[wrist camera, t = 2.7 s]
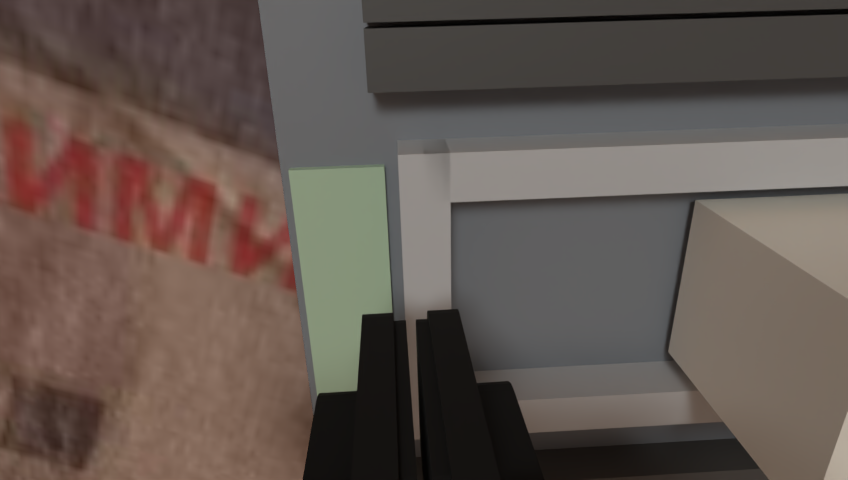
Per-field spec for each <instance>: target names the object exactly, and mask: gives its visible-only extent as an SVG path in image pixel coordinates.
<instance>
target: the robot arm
mask: <svg viewBox="0 0 848 480" xmlns="http://www.w3.org/2000/svg"><path fill="white" fill-rule="evenodd" d="M416 346H417V373H418V400H419V427H420V449H421V463H422V475H423V480H544V477H543V474H542V471H541V468H540V465H539V462H538V459H537V456H536V453H535V450H534V447H533V445H532V442H531V439H530V436H529V433H528V430H527V427H526V424H525V421H524V418H523V415H522V412H521V409H520V406H519V403H518V400H517V397H516V394H515V392H514V389H513V386H512V384H511V383H510V382H509V381H501V382H485V383H477V382H476V378H475V374H474V370H473V366H472V362H471V358H470V354H469V350H468V345H467V341H466V337H465V333H464V329H463V325H462V321H461V317H460V313H459V310H458V309H447V310H430V311H427V319H416ZM303 480H417V468H416V454H415V440H414V426H413V412H412V398H411V384H410V371H409V357H408V343H407V329H406V320H399V321H394V316H393V313H378V314H363V315H362V324H361V339H360V353H359V368H358V383H357V391H346V392H330V393H319V394H318V396H317V400H316V405H315V411H314V417H313V423H312V428H311V434H310V440H309V446H308V452H307V458H306V464H305V470H304V476H303Z"/></svg>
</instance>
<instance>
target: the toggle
mask: <svg viewBox="0 0 848 480" xmlns="http://www.w3.org/2000/svg"><path fill="white" fill-rule="evenodd" d="M668 352H669V354H670V355H671V356H672V357H673V359H674V360H675V361H676V362H677V364H678V365H679V366H680V368H681V369H682V370H683V371H684V373H685V374H686V375H687V376H688V378H689V379H690V380H691V381H692V383H693V384H694V385H695V386H696V388H697V389H698V390H699V392H700V393H701V394H702V395H703V397H704V398H705V399H706V400H707V402H708V403H709V404H710V405H711V407H712V408H713V409H714V411H715V412H716V413H717V414H718V416H719V417H720V418H721V419H722V421H723V422H724V423H725V424H726V426H727V427H728V428H729V430H730V431H731V432H732V433H733V435H734V436H735V437H736V438H737V440H738V441H739V442H740V443H741V445H742V446H743V447H744V449H745V450H746V451H747V452H748V454H749V455H750V456H751V457H752V459H753V460H754V461H755V462H756V464H757V465H758V466H759V468H760V469H761V470H762V471H763V473H764V474H765V475H766V476H767V478H768V479H769V480H848V194H825V195H801V196H778V197H754V198H730V199H707V200H695V205H694V211H693V217H692V222H691V228H690V233H689V239H688V244H687V250H686V255H685V261H684V267H683V272H682V278H681V283H680V289H679V294H678V300H677V305H676V311H675V317H674V322H673V328H672V333H671V339H670V344H669V350H668Z"/></svg>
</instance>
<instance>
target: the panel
mask: <svg viewBox="0 0 848 480" xmlns="http://www.w3.org/2000/svg"><path fill="white" fill-rule="evenodd" d="M258 4H259V11H260V19H261V26H262V34H263V41H264V49H265V56H266V64H267V71H268V79H269V86H270V94H271V101H272V109H273V116H274V124H275V131H276V139H277V146H278V154H279V161H280V169H281V176H282V184H283V191H284V199H285V206H286V214H287V221H288V229H289V236H290V244H291V251H292V259H293V266H294V274H295V281H296V289H297V296H298V304H299V311H300V319H301V326H302V334H303V341H304V349H305V356H306V364H307V371H308V379H309V386H310V394H311V401H312V409H313V416H314V411H315V405H316V400H317V396H318V394H319V393H330V392H346V391H357V383H358V368H359V353H360V339H361V324H362V315H363V314H378V313H393V316H394V321H399V320H406V329H407V343H408V357H409V371H410V384H411V398H412V412H413V426H414V440H415V454H416V468H417V480H423V475H422V463H421V449H420V427H419V400H418V373H417V346H416V319H427V311H430V310H447V309H458V310H459V313H460V317H461V321H462V325H463V329H464V333H465V337H466V341H467V345H468V350H469V354H470V358H471V362H472V366H473V370H474V374H475V378H476V382H477V383H485V382H501V381H509V382H510V383H511V384H512V386H513V389H514V392H515V394H516V397H517V400H518V403H519V406H520V409H521V412H522V415H523V418H524V421H525V424H526V427H527V430H528V433H529V436H530V439H531V442H532V445H533V447H534V450H535V453H536V456H537V459H538V462H539V465H540V468H541V471H542V474H543V477H544V480H769V479H768V478H767V476H766V475H765V474H764V473H763V471H762V470H761V469H760V468H759V466H758V465H757V464H756V462H755V461H754V460H753V459H752V457H751V456H750V455H749V454H748V452H747V451H746V450H745V449H744V447H743V446H742V445H741V443H740V442H739V441H738V440H737V438H736V437H735V436H734V435H733V433H732V432H731V431H730V430H729V428H728V427H727V426H726V424H725V423H724V422H723V421H722V419H721V418H720V417H719V416H718V414H717V413H716V412H715V411H714V409H713V408H712V407H711V405H710V404H709V403H708V402H707V400H706V399H705V398H704V397H703V395H702V394H701V393H700V392H699V390H698V389H697V388H696V386H695V385H694V384H693V383H692V381H691V380H690V379H689V378H688V376H687V375H686V374H685V373H684V371H683V370H682V369H681V368H680V366H679V365H678V364H677V362H676V361H675V360H674V359H673V357H672V356H671V355H670V354H669V352H668V350H669V344H670V339H671V333H672V328H673V322H674V317H675V311H676V305H677V300H678V294H679V289H680V283H681V278H682V272H683V267H684V261H685V255H686V250H687V244H688V239H689V233H690V228H691V222H692V217H693V211H694V205H695V200H707V199H730V198H754V197H778V196H801V195H825V194H848V0H258Z"/></svg>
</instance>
